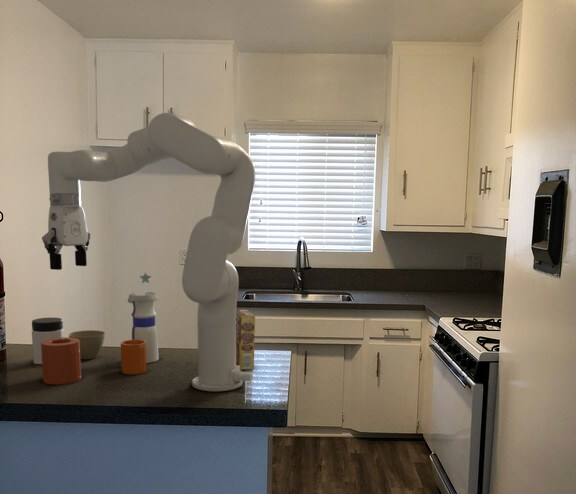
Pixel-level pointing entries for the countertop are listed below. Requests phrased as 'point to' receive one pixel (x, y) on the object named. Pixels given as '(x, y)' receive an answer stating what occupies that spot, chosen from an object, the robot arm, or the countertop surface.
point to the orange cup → (133, 356)
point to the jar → (44, 334)
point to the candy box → (245, 339)
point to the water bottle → (145, 321)
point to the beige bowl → (89, 342)
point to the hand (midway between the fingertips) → (69, 267)
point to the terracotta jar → (61, 360)
